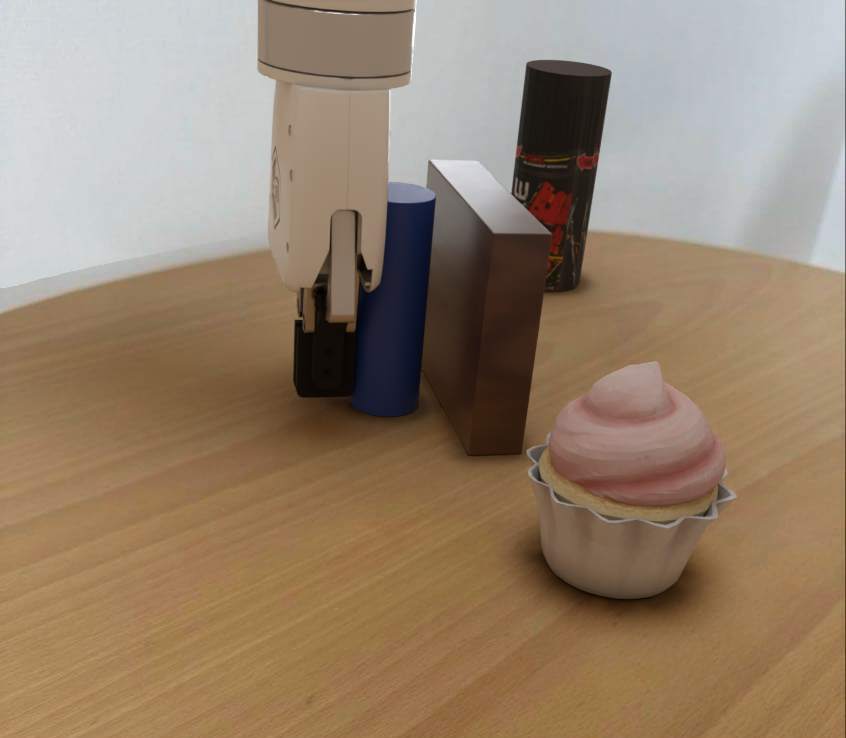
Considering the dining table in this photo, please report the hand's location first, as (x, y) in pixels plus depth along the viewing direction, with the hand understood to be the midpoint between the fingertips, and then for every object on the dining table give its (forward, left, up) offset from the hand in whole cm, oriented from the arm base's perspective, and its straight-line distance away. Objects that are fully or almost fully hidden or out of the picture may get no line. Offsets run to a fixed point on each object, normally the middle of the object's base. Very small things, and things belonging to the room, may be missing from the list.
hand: (322, 390), depth 65 cm
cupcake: (+11, -18, -1) cm, 21 cm away
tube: (+4, 0, +5) cm, 6 cm away
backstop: (+8, 0, -1) cm, 8 cm away
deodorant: (+20, +21, -1) cm, 29 cm away
